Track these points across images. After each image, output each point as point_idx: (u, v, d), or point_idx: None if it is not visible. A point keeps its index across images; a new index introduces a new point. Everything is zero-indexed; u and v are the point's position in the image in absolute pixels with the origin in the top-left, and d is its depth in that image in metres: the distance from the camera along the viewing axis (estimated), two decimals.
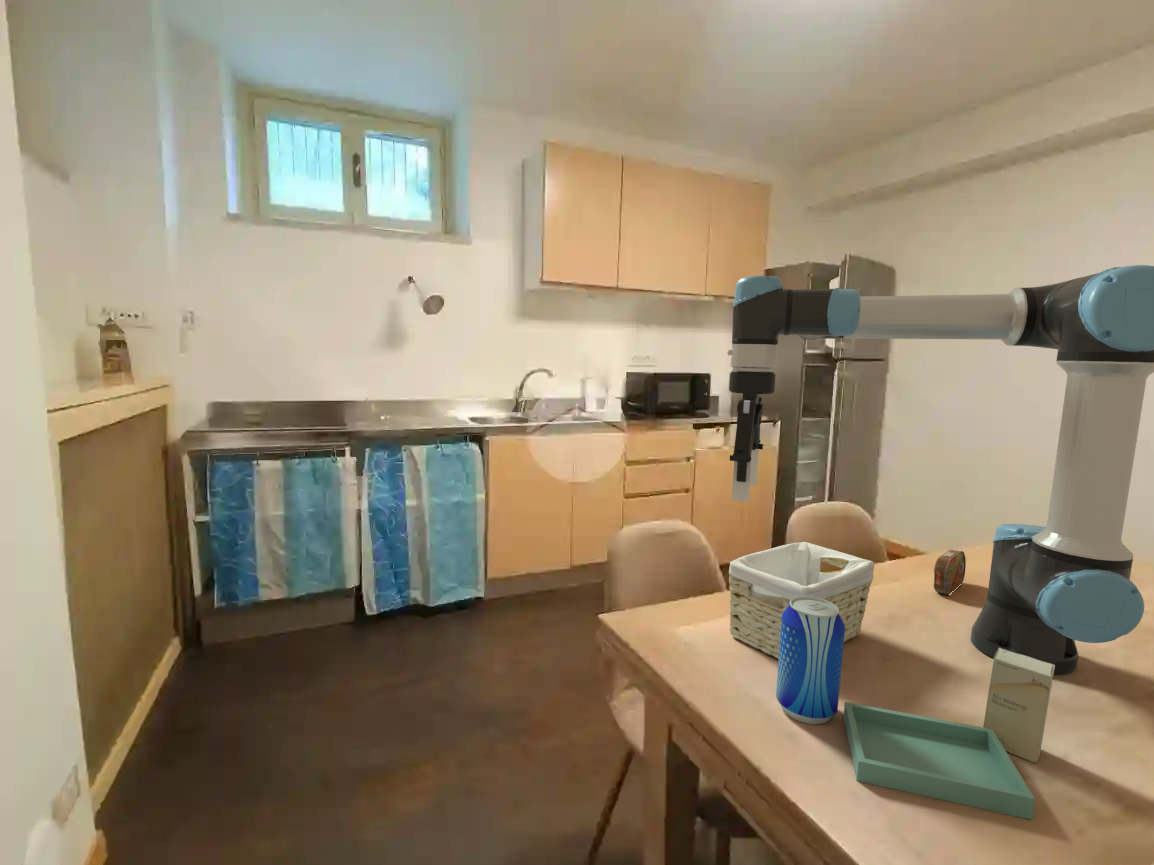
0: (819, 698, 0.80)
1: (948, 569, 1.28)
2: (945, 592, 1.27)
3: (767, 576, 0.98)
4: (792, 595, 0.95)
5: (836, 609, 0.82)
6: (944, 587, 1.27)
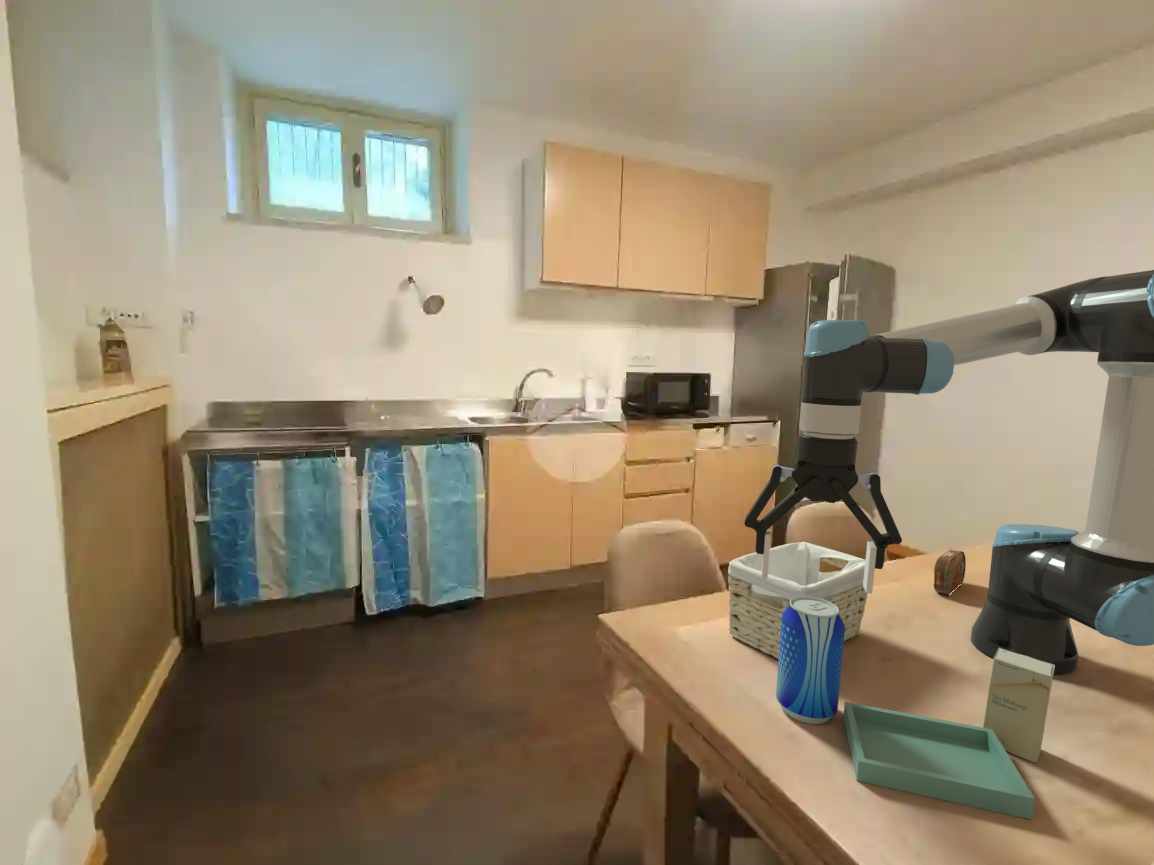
0: (819, 698, 0.80)
1: (948, 569, 1.28)
2: (945, 592, 1.27)
3: None
4: (791, 595, 0.95)
5: (836, 609, 0.82)
6: (944, 587, 1.27)
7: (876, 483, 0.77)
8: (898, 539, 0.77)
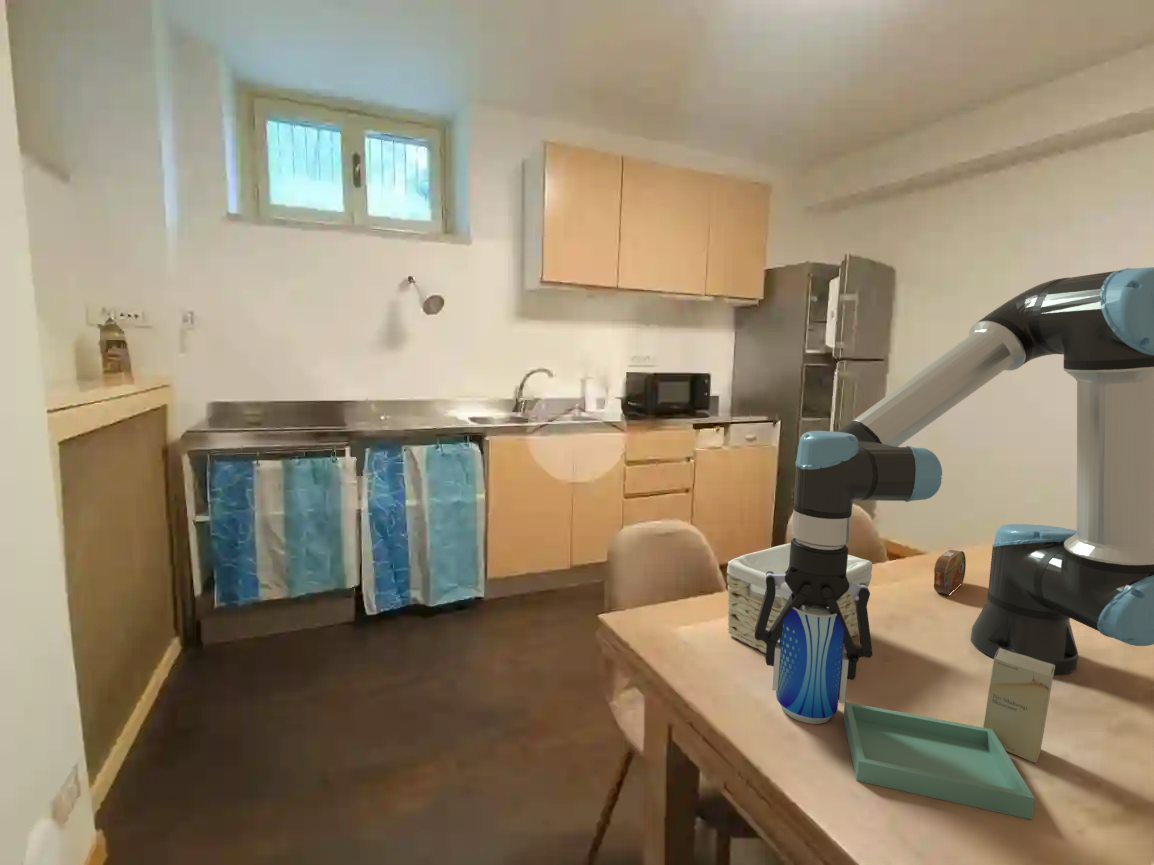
0: (818, 698, 0.80)
1: (948, 569, 1.28)
2: (945, 592, 1.27)
3: (765, 575, 0.99)
4: (789, 594, 0.95)
5: None
6: (944, 587, 1.27)
7: (864, 597, 0.80)
8: (869, 653, 0.80)
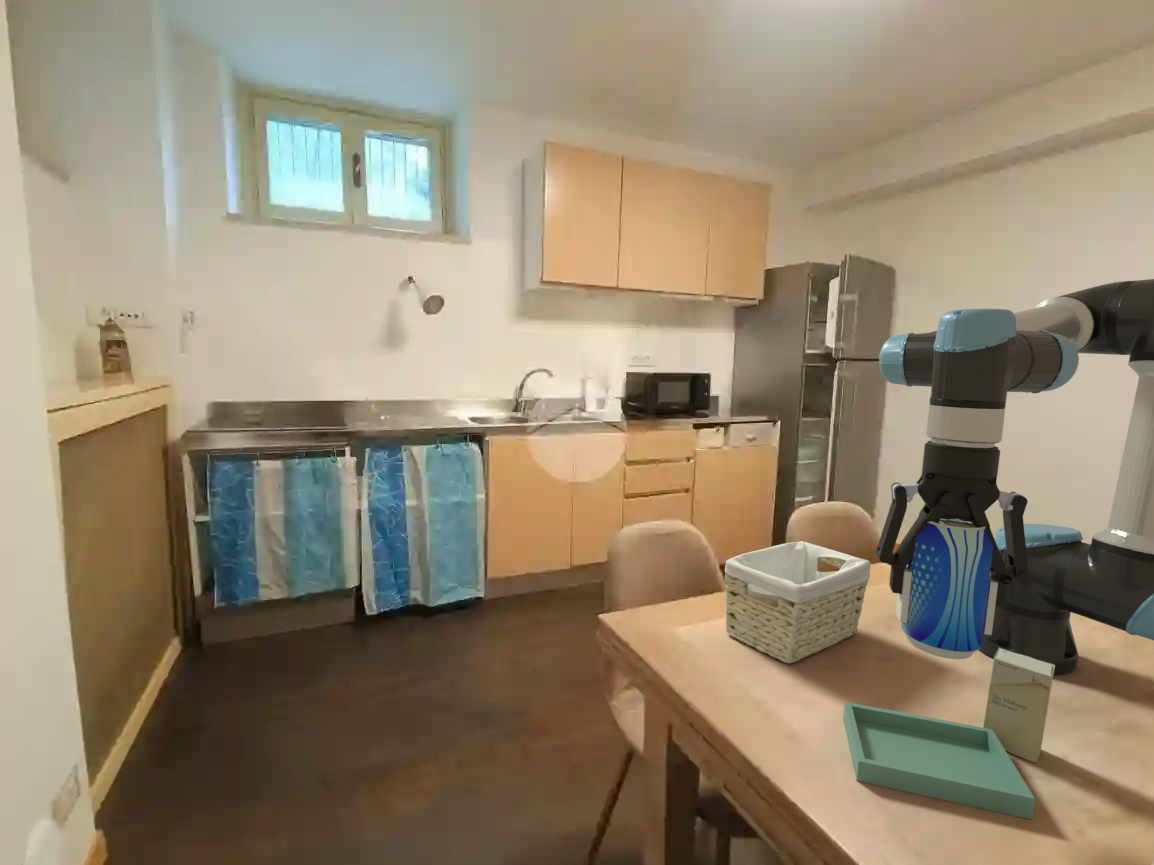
0: (964, 627, 0.67)
1: None
2: None
3: (762, 575, 0.99)
4: (786, 594, 0.95)
5: None
6: None
7: (1020, 506, 0.67)
8: (1024, 574, 0.67)
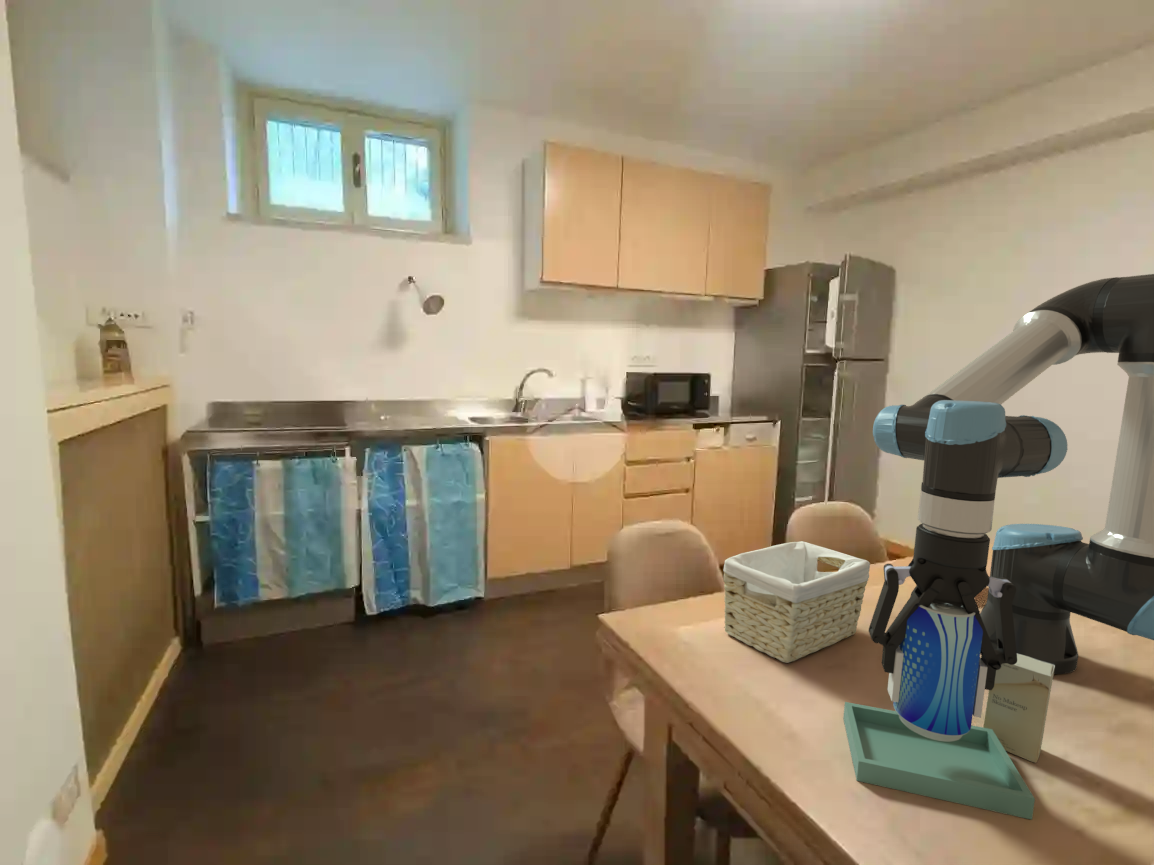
0: (954, 711, 0.69)
1: None
2: None
3: (760, 574, 0.99)
4: (784, 593, 0.95)
5: None
6: None
7: (1009, 594, 0.68)
8: (1013, 659, 0.69)
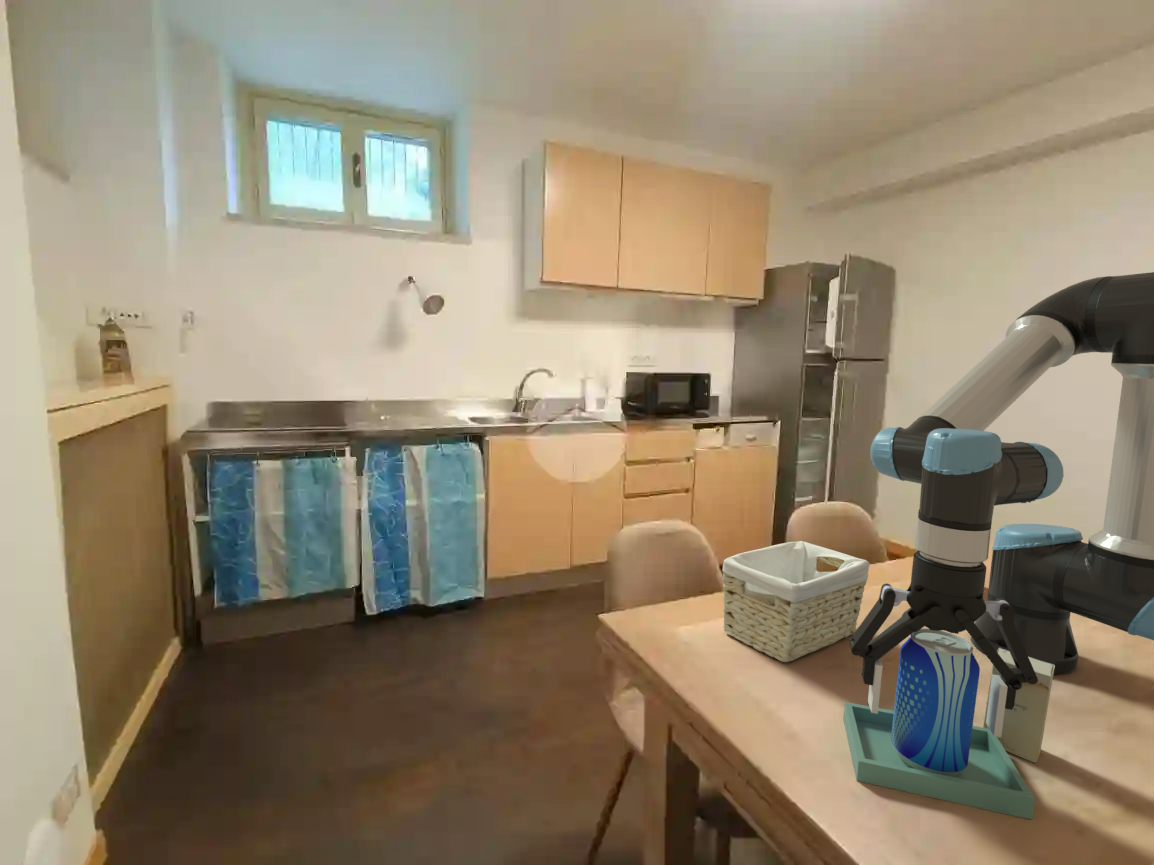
0: (951, 749, 0.69)
1: None
2: None
3: (759, 574, 0.99)
4: (782, 593, 0.96)
5: (967, 645, 0.71)
6: None
7: (1009, 615, 0.68)
8: (1033, 679, 0.68)
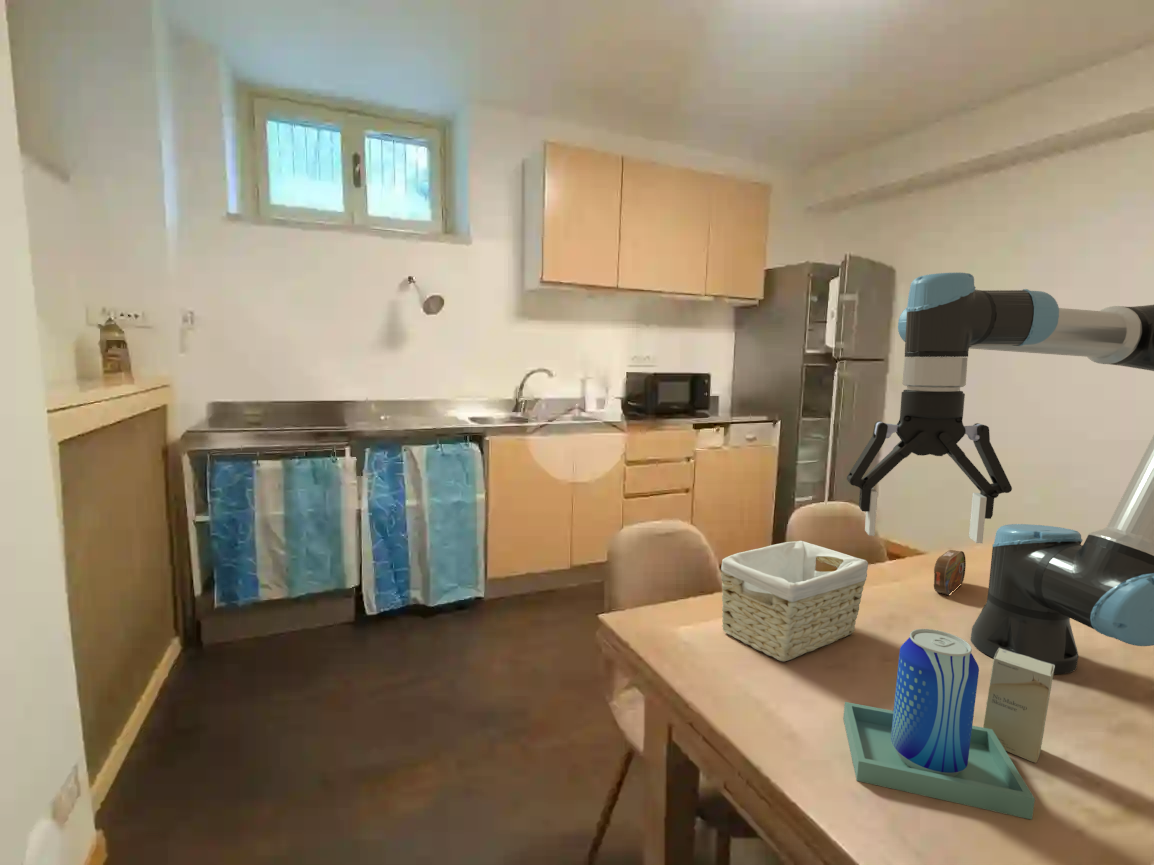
0: (950, 749, 0.69)
1: (948, 569, 1.28)
2: (945, 592, 1.27)
3: (757, 573, 1.00)
4: (780, 592, 0.96)
5: (967, 645, 0.71)
6: (944, 587, 1.27)
7: (985, 433, 0.79)
8: (1008, 488, 0.79)
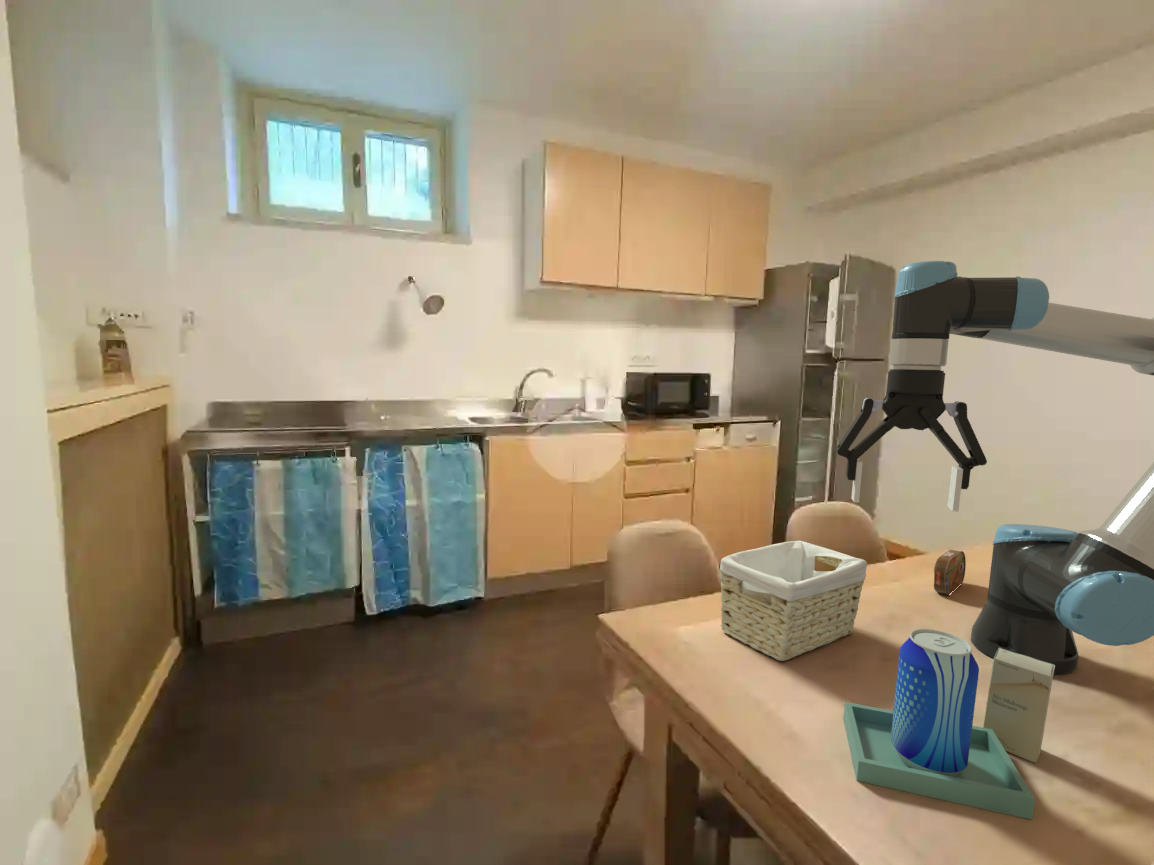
0: (950, 749, 0.69)
1: (948, 569, 1.28)
2: (945, 592, 1.27)
3: (755, 573, 1.00)
4: (779, 591, 0.96)
5: (967, 645, 0.71)
6: (944, 587, 1.27)
7: (963, 410, 0.86)
8: (983, 460, 0.85)
